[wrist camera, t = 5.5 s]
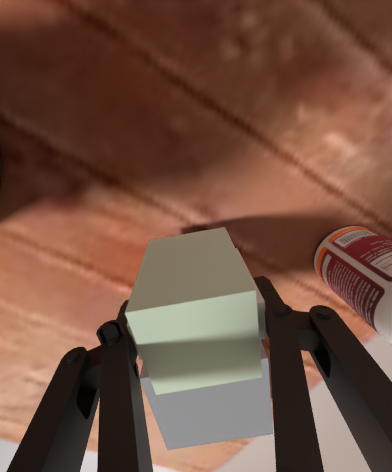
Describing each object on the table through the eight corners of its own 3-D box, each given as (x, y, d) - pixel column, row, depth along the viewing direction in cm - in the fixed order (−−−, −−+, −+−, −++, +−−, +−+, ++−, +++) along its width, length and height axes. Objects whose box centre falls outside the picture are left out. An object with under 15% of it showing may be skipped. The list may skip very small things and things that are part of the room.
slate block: (146, 343, 24) (139, 378, 21) (255, 325, 24) (268, 357, 20) (169, 411, 29) (167, 450, 25) (261, 396, 29) (273, 433, 25)
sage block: (149, 240, 17) (124, 312, 10) (224, 227, 17) (255, 290, 10) (165, 300, 20) (156, 395, 12) (232, 289, 20) (262, 377, 12)
